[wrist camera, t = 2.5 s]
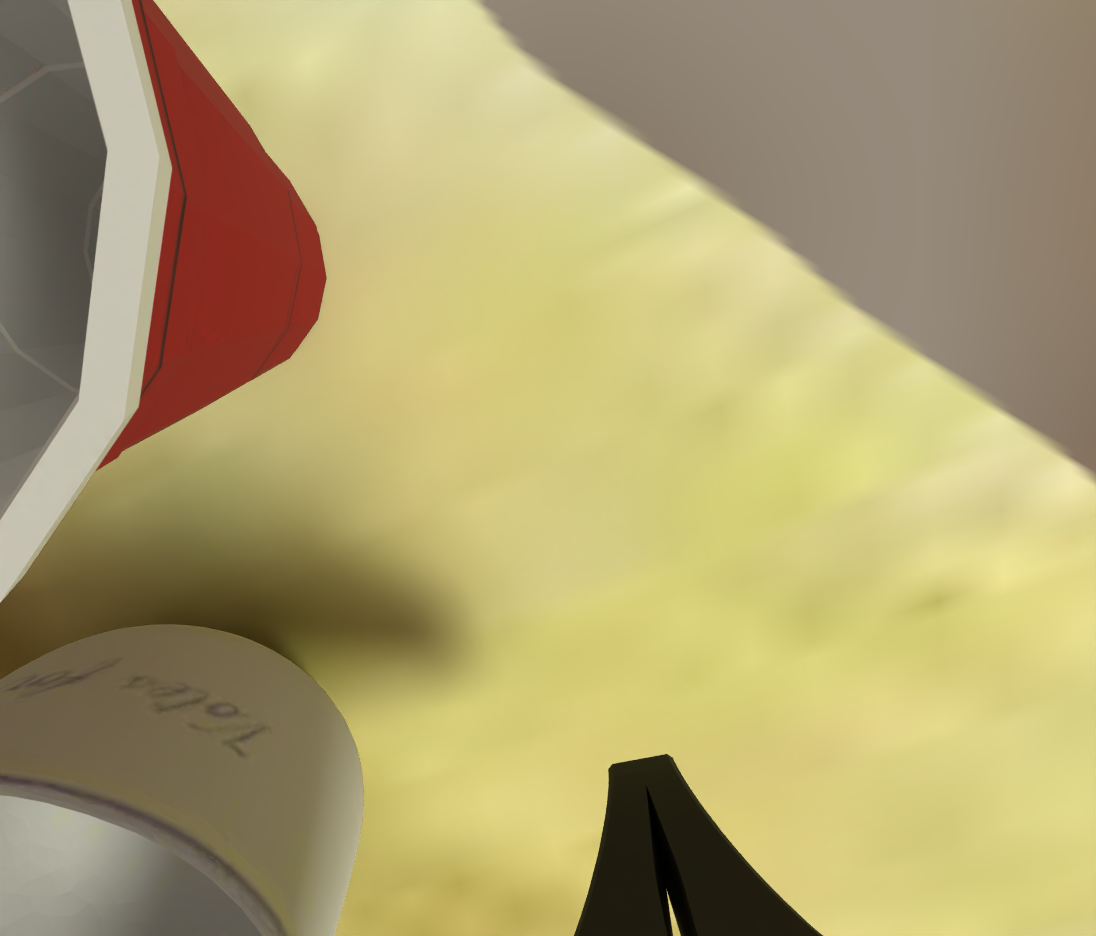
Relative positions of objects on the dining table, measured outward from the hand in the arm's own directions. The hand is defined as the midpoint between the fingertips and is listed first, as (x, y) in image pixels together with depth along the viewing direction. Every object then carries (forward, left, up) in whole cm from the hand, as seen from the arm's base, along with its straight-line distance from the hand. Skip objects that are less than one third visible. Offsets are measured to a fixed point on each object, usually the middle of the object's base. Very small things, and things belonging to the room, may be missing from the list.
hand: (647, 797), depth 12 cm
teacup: (0, +14, -6) cm, 15 cm away
